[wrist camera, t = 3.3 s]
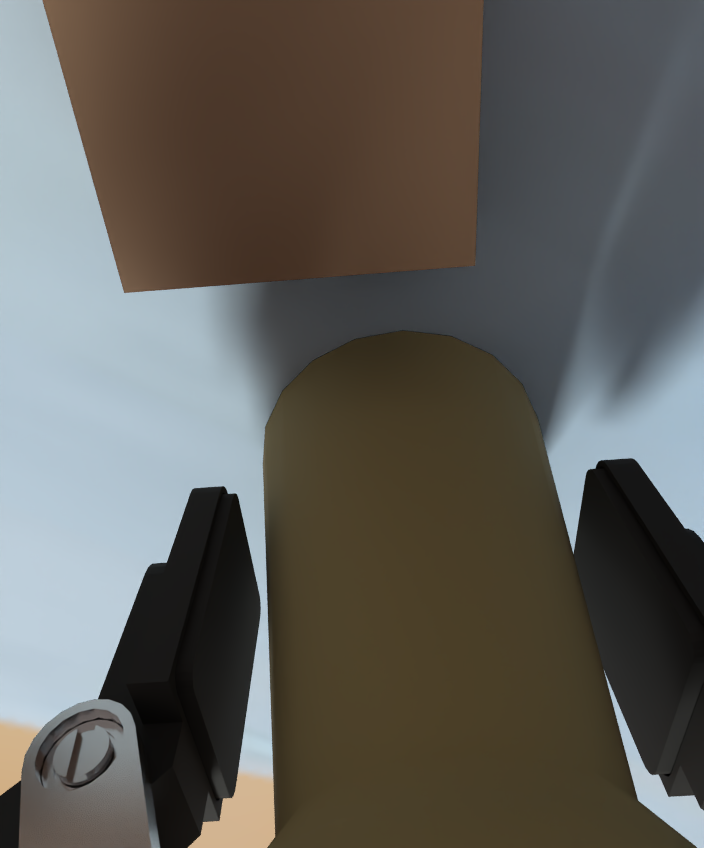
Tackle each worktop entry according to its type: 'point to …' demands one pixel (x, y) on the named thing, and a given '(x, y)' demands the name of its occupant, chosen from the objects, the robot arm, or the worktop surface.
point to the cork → (431, 617)
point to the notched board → (277, 134)
